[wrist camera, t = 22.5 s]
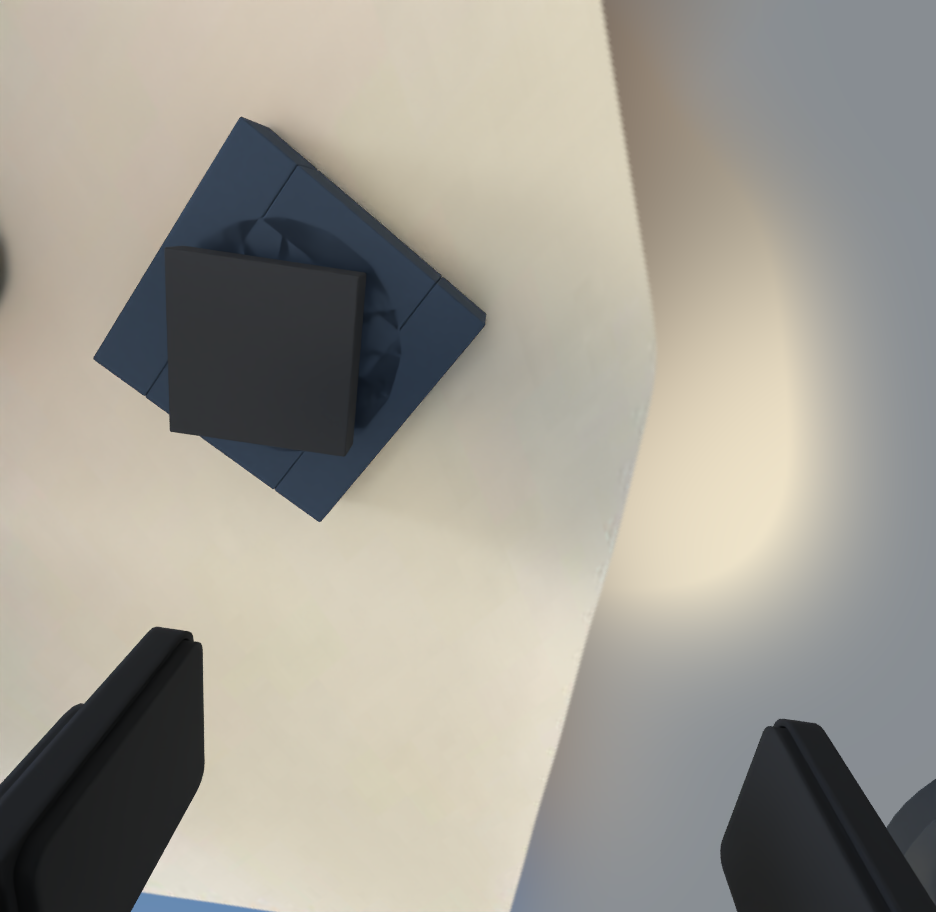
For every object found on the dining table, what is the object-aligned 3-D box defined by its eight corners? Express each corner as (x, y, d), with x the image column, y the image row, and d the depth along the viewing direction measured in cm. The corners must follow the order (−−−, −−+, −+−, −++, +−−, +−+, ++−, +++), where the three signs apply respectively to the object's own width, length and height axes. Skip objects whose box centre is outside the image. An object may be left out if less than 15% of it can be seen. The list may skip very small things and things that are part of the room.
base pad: (487, 314, 28) (486, 324, 26) (334, 496, 32) (319, 523, 29) (267, 126, 26) (239, 115, 23) (129, 345, 30) (91, 359, 27)
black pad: (386, 264, 28) (358, 276, 22) (372, 413, 30) (345, 458, 25) (230, 241, 28) (163, 246, 22) (229, 392, 30) (168, 432, 25)
